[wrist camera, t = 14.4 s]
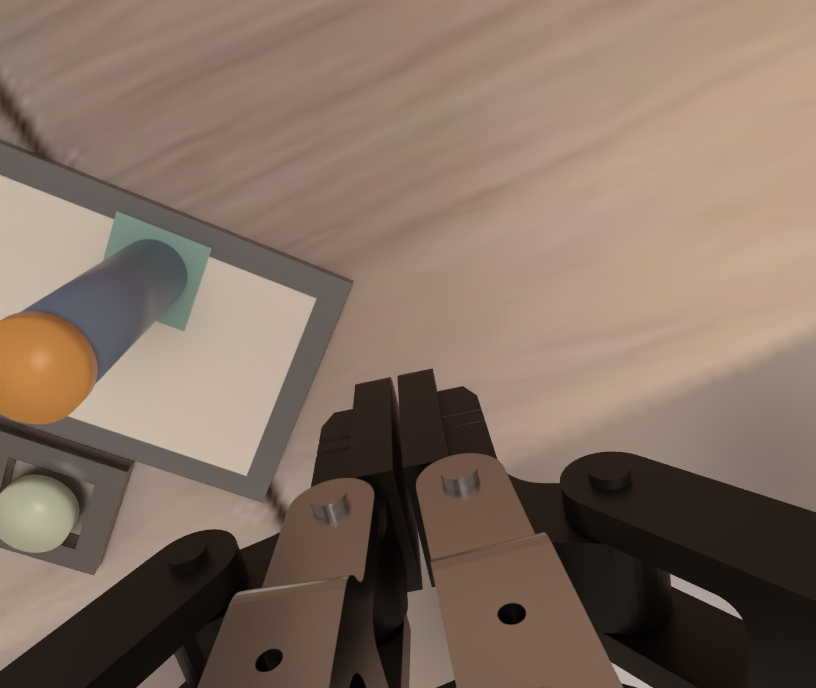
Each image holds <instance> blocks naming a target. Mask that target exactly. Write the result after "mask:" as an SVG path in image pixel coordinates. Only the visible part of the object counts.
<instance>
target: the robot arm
mask: <svg viewBox="0 0 816 688" xmlns="http://www.w3.org/2000/svg"><path fill="white" fill-rule="evenodd" d="M398 394H399V406H398V402H397V398H396V393H395V389H394V385H393V382H392V379H391V377H389V378H385V379H380V380H375V381H370V382H365V383H360V384H356V385H355V393H354V404H353V409H351V410H346V411H341V412H336V413H334V414H333V415H332V416H331V417H330V418H329V419H328V421H327V422H326V423H325V424H324V425H323V426H322V429H321V434H320V440H319V443H320V444H319V445H318V451H317V457H316V462H315V467H314V473H313V478H312V484H311V488H309V489H307V490H306V491H304V492H303V493H301V494H300V495H299V496H298V497H297V498H296V499H295V500H294V501H293V502H292V503H291V505H290V506H289V508H288V511H287V513H286V517H285V520H284V523H283V526H282V529H281V532H279V533H277V534H276V535H274V536H272V537H269V538H267V539H265V540H262V541H260V542H258V543H255V544H253V545H250V546H248V547H245V548H243V549H241V550H240V549H239V546H238V544H237V541H236V539H235V537H234V536H233V535H232V534H231V533H229V532H227V531H223V530H216V529H213V530H204V531H199V532H195V533H192V534H189V535H186V536H184V537H182V538H180V539H177V540H176V541H174V542H172V543H170V544H169V545H167V546H166V547H164V548H163V549H162V550H160V551H159V552H158V553H156V554H155V555H154V556H152V557H151V558H150V559H148V560H147V561H146V562H144V563H143V564H142V565H140V566H139V567H138V568H136V569H135V570H134V571H132V572H131V573H130V574H128V575H127V576H126V577H124V578H123V579H122V580H120V581H119V582H118V583H116V584H115V585H114V586H112V587H111V588H110V589H109V590H107V591H106V592H105V593H103V594H102V595H101V596H99V597H98V598H97V599H95V600H94V601H93V602H91V603H90V604H89V605H87V606H86V607H85V608H83V609H82V610H81V611H79V612H78V613H77V614H75V615H74V616H73V617H71V618H70V619H69V620H67V621H66V622H65V623H63V624H62V625H61V626H59V627H58V628H57V629H55V630H54V631H53V632H51V633H50V634H49V635H47V636H46V637H45V638H44V639H42V640H41V641H40V642H38V643H37V644H36V645H34V646H33V647H32V648H30V649H29V650H28V651H26V652H25V653H24V654H22V655H21V656H20V657H18V658H17V659H16V660H14V661H13V662H12V663H10V664H9V665H8V666H6V667H5V668H4V669H2V670H1V671H0V688H136V687H137V686H139V685H140V684H141V683H142V682H143V681H144V680H145V679H146V678H147V677H148V676H149V675H151V674H152V673H153V672H154V671H155V670H156V669H157V668H158V667H160V666H161V665H162V664H163V663H164V662H165V661H166V660H167V659H168V658H170V656H172V655H173V654H174V655H175V657H176V659H177V661H178V664H179V666H180V668H181V670H182V673H183V675H184V677H185V679H186V681H185V682H184V683H183V684H182V685H181V686H180V687H179V688H409V677H410V674H409V673H410V643H411V630H410V625H409V621H408V617H407V614H406V613H407V610H408V598H407V592H411V591H416V590H421V589H423V586H422V575H421V563H420V550H419V538H418V532H419V536H420V540H421V545H422V549H423V553H424V557H425V561H426V565H427V569H428V573H429V577H430V581H431V585H432V587H436V591H437V596H438V601H439V606H440V610H441V615H442V620H443V625H444V630H445V634H446V639H447V644H448V649H449V654H450V659H451V663H452V668H453V672H454V678H455V680H453V681H451V682H449V683H446V684H444V685H442V686H439V687H437V688H636V687H633V686H629V685H625V684H622V683H621V682H620V680H619V678H618V676H617V674H616V672H615V670H614V668H613V666H612V664H611V662H612V663H614V664H616V665H617V666H618V667H620V668H622V669H623V670H625V671H627V672H628V673H630V674H631V675H633V676H635V677H636V678H638V679H640V680H641V681H643V682H645V683H646V684H648V685H649V686H651V687H653V688H816V512H813V511H810V510H807V509H803V508H801V507H797V506H794V505H791V504H788V503H785V502H782V501H779V500H775V499H772V498H769V497H766V496H763V495H760V494H757V493H754V492H751V491H748V490H744V489H741V488H738V487H735V486H732V485H729V484H726V483H722V482H719V481H716V480H713V479H710V478H707V477H704V476H700V475H697V474H694V473H691V472H688V471H685V470H682V469H679V468H675V467H672V466H669V465H666V464H663V463H660V462H657V461H654V460H651V459H648V458H644V457H641V456H638V455H635V454H631V453H625V452H600V453H595V454H590V455H587V456H584V457H581V458H579V459H577V460H575V461H573V462H572V463H571V464H569V465H568V466H567V467H566V468H565V469H564V471H563V472H562V474H561V477H560V483H534V482H527V481H523V480H520V479H517V478H515V477H512V476H511V475H509V474H507V473H506V471H505V468H504V467H503V465H502V464H501V463H500V462H499V461H498V460H497V457H496V454H495V451H494V447H493V444H492V441H491V438H490V435H489V432H488V429H487V425H486V422H485V419H484V416H483V413H482V410H481V407H480V403H479V400H478V397H477V395H476V394H474V393H472V392H471V391H469V390H468V389H466V388H465V387H463V386H462V387H457V388H452V389H447V390H442V391H438V392H437V387H436V382H435V378H434V373H433V369H428V370H423V371H418V372H413V373H408V374H403V375H399V376H398ZM670 574H672V575H674V576H676V577H679V578H681V579H683V580H685V581H687V582H690V583H692V584H694V585H696V586H698V587H700V588H703V589H705V590H707V591H709V592H711V593H714V594H716V595H718V596H720V597H721V598H723V599H724V600H726V601H727V602H728V603H729V604H731V605H732V606H733V607H734V608H735V609H736V611H737V612H738V613H739V614H740V616H741V617H742V619H743V620H741V619H739V618H737V617H735V616H733V615H731V614H729V613H727V612H725V611H722V610H720V609H718V608H716V607H714V606H712V605H710V604H708V603H705V602H703V601H701V600H699V599H697V598H695V597H693V596H690V595H688V594H686V593H684V592H682V591H680V590H678V589H676V588H674V587H671V580H670Z"/></svg>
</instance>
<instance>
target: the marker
mask: <svg viewBox="0 0 816 688" xmlns="http://www.w3.org/2000/svg"><path fill="white" fill-rule="evenodd" d="M186 283H187V269H186V266H185V263H184V261H183V259H182V258H181V256H180V255H179V254H178V252H177V251H176V250H175V249H173V248H172V247H171V246H169V245H168V244H166V243H164V242H161V241H158V240H153V239H143V240H138V241H136V242H133V243H131V244H130V245H128V246H126V247H125V248H123V249H122V250H120V251H118V252H117V253H115V254H113V255H112V256H110V257H109V258H107V259H105V260H104V261H102V262H100V263H99V264H97V265H96V266H94V267H92V268H91V269H89V270H87V271H86V272H84V273H83V274H81V275H79V276H78V277H76V278H75V279H73V280H71V281H70V282H68V283H66V284H65V285H63V286H62V287H60V288H58V289H57V290H55V291H53V292H52V293H50V294H49V295H47V296H45V297H44V298H42V299H40V300H39V301H37V302H36V303H34V304H32V305H31V306H29V307H27V308H26V309H24V310H23V311H21V312H19V313H15V314H12V315H9V316H7V317H6V318H4V319H2V320H0V414H1V415H3V416H5V417H7V418H9V419H12V420H15V421H18V422H22V423H27V424H48V423H53V422H56V421H59V420H61V419H63V418H65V417H67V416H68V415H70V414H71V413H72V412H73V411H74V410H75V409H76V408H77V407H78V406H79V405H80V404H81V403H82V402H83V401H84V400H85V399H86V398H87V397H88V395H89V394H90V393H91V391H92V389H93V388H94V385H95V384H96V383H97V382H98V381H99V380H100V379H101V378H102V377H103V376H104V375H105V374H106V372H107V371H108V370H109V369H110V368H111V367H112V366H113V365H114V364H115V363H116V362H117V361H118V360H119V359H120V358H121V357H122V356H123V355H124V354H125V353H126V352H127V351H128V350H129V348H130V347H131V346H132V345H133V344H134V343H135V342H136V341H137V340H138V339H139V338H140V337H141V336H142V335H143V334H144V333H145V332H146V331H147V330H148V329H149V328H150V327H151V325H152V324H153V323H154V322H155V321H156V320H157V319H158V318H159V317H160V316H161V315H162V314H163V313H164V312H165V311H166V310H167V309H168V308H169V307H170V306H171V305H172V304H173V303H174V301H175V300H176V299H177V298H178V297H179V296H180V295H181V294H182V293H183V291H184V289H185V287H186Z"/></svg>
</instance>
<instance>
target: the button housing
mask: <svg viewBox="0 0 816 688" xmlns="http://www.w3.org/2000/svg"><path fill="white" fill-rule="evenodd" d="M16 459H17V460H20V461H23V462H26V463H29V464H32V465H35V466H39V467H42V468H45V469H48V470H51V471H54V472H57V473H61V474H64V475H67V476H70V477H73V478H76V479H79V480H82V481H86V482H89V483H92V484H95V487H94V490H93V494H92V497H91V500H90V504H89V507H88V510H87V513H86V517H85V520H84V523H83V526H82V530H81V533H80V536H78V535H75V534H71V533H69V535H68V536H67V537H66V539H65V540H64V541H63V542H62V544H60V545H59V546H58V547H56V548H55V549H52V550H50V551H46V552H40V553H31V552H25V551H21V550H18V549H15V548H13V547H11V546H10V545H8V544H6V543H5V542H4V541H2V540H1V539H0V548H3V549H6V550H10V551H13V552H16V553H20V554H23V555H27V556H30V557H33V558H37V559H40V560H44V561H47V562H50V563H54V564H57V565H61V566H64V567H67V568H71V569H74V570H78V571H81V572H84V573H88V574H91V575H94V574H95V573H96V571H97V569H98V568H99V566H100V564H101V563H102V560H103V557H104V554H105V551H106V548H107V545H108V541H109V538H110V535H111V532H112V529H113V526H114V523H115V520H116V517H117V514H118V511H119V508H120V505H121V501H122V498H123V495H124V492H125V489H126V486H127V483H128V480H129V477H130V474H131V471H132V468H133V465H134V461H131V460H128V459H125V458H122V457H119V456H116V455H113V454H110V453H107V452H104V451H101V450H98V449H95V448H92V447H88V446H85V445H82V444H79V443H76V442H73V441H70V440H67V439H64V438H61V437H58V436H55V435H52V434H49V433H46V432H43V431H40V430H37V429H34V428H31V427H28V426H24V425H21V424H18V423H15V422H12V421H9V420H6V419H3V418H0V493H1V492H2V491H3V490H4V489H5V488H6V487H7V486H8V485H9V484H10V480H11V476H12V472H13V468H14V465H15V461H16Z"/></svg>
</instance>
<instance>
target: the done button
mask: <svg viewBox="0 0 816 688" xmlns="http://www.w3.org/2000/svg"><path fill="white" fill-rule="evenodd" d="M79 514H80V509H79V504H78V501H77V499H76V497H75V495H74V494H73V492H72V491H71V490H70V489H69V488H68V487H67V486H66V485H64V484H63V483H61V482H60V481H58V480H56V479H54V478H51V477H48V476H44V475H26V476H22V477H19V478H17V479H15V480H14V481H12V482H11V483H10V484H9V485H8V486H7V487H6V488H5V489H4V490H3V491H2V492H1V493H0V539H1V540H2V541H4V542H5V543H6V544H8V545H10V546H11V547H13V548H15V549H18V550H21V551H25V552H31V553H40V552H46V551H50V550H52V549H55V548H56V547H58V546H59V545H60V544H62V542H63V541H64V540H65V539H66V537H67V536H68V535H69V533H70V532H71V530H72V529H73V528H74V526H75V525H76V523H77V521H78V519H79Z"/></svg>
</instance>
